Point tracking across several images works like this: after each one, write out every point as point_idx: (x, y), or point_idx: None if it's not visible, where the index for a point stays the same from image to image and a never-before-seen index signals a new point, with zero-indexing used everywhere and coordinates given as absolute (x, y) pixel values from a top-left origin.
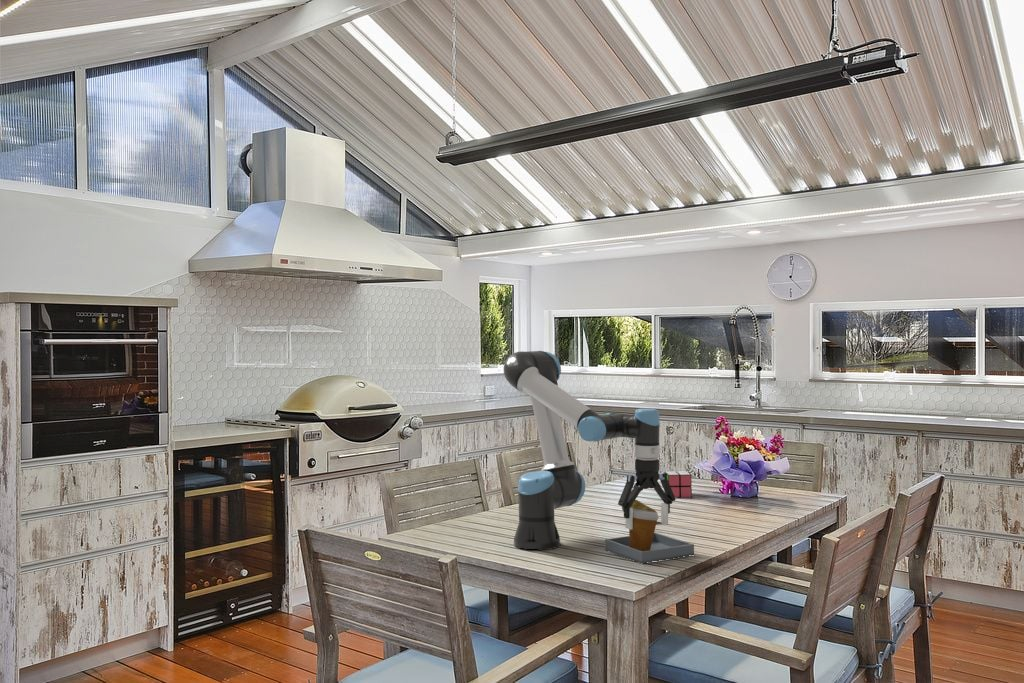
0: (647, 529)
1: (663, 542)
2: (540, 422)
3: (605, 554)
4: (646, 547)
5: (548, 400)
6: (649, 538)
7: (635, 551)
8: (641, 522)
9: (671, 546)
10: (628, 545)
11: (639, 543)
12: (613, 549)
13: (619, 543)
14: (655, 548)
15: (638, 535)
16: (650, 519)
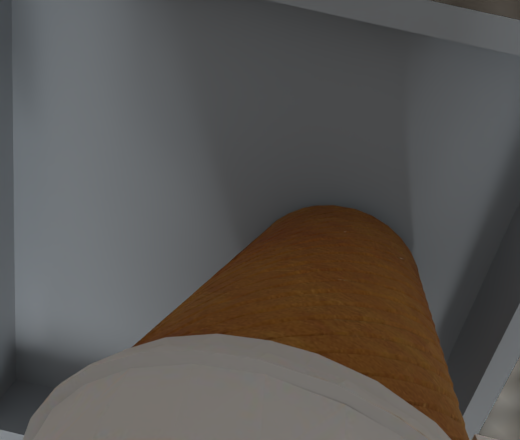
0: (366, 302)
1: (7, 303)
2: None
3: (497, 417)
4: (351, 218)
5: None
6: (322, 242)
7: None
8: (454, 426)
9: (12, 210)
10: None
11: (412, 274)
12: None
13: (465, 415)
14: (152, 259)
15: (434, 329)
16: (344, 372)
